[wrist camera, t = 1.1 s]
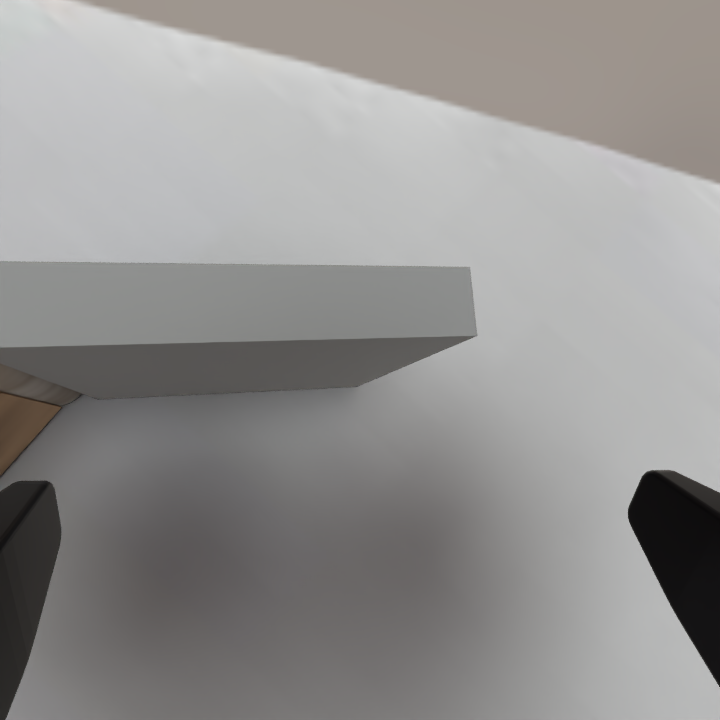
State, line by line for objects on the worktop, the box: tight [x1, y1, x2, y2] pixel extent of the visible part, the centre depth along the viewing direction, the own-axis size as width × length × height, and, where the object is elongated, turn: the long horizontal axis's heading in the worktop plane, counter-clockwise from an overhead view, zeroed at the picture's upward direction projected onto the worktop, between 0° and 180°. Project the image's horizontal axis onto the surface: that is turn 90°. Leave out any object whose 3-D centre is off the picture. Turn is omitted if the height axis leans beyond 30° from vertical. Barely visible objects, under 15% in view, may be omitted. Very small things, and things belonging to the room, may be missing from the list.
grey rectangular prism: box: [0, 261, 477, 399], centre depth 16 cm, size 10×2×11 cm, turn 94°
